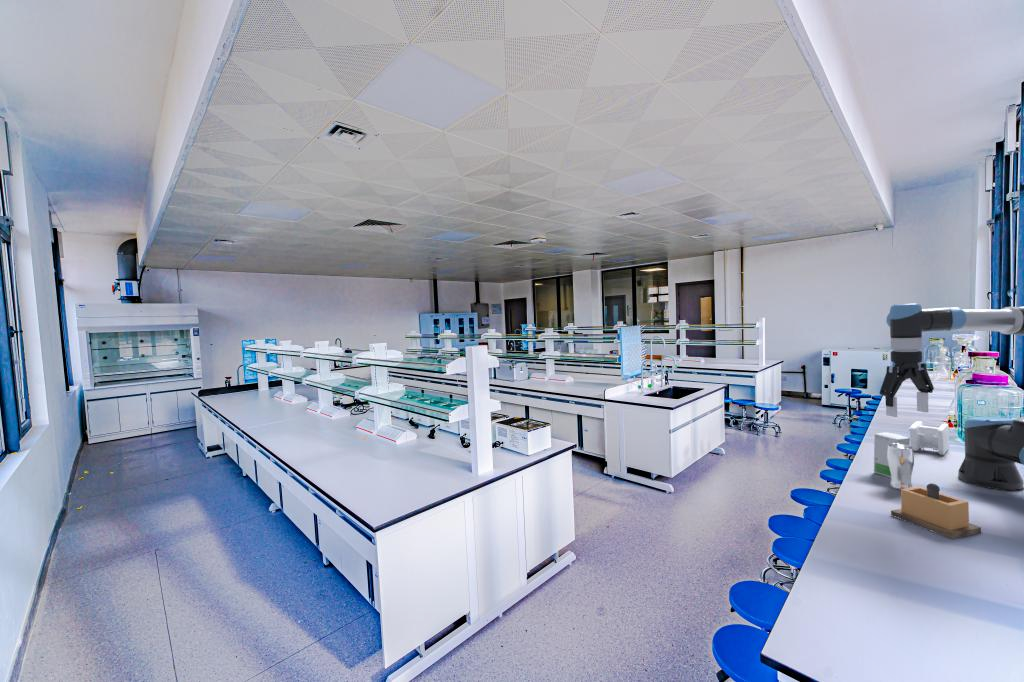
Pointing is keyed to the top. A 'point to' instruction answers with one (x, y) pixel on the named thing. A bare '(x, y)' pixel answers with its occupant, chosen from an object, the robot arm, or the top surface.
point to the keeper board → (952, 534)
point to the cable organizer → (929, 437)
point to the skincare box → (885, 450)
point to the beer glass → (900, 465)
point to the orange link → (935, 508)
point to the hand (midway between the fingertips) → (907, 413)
